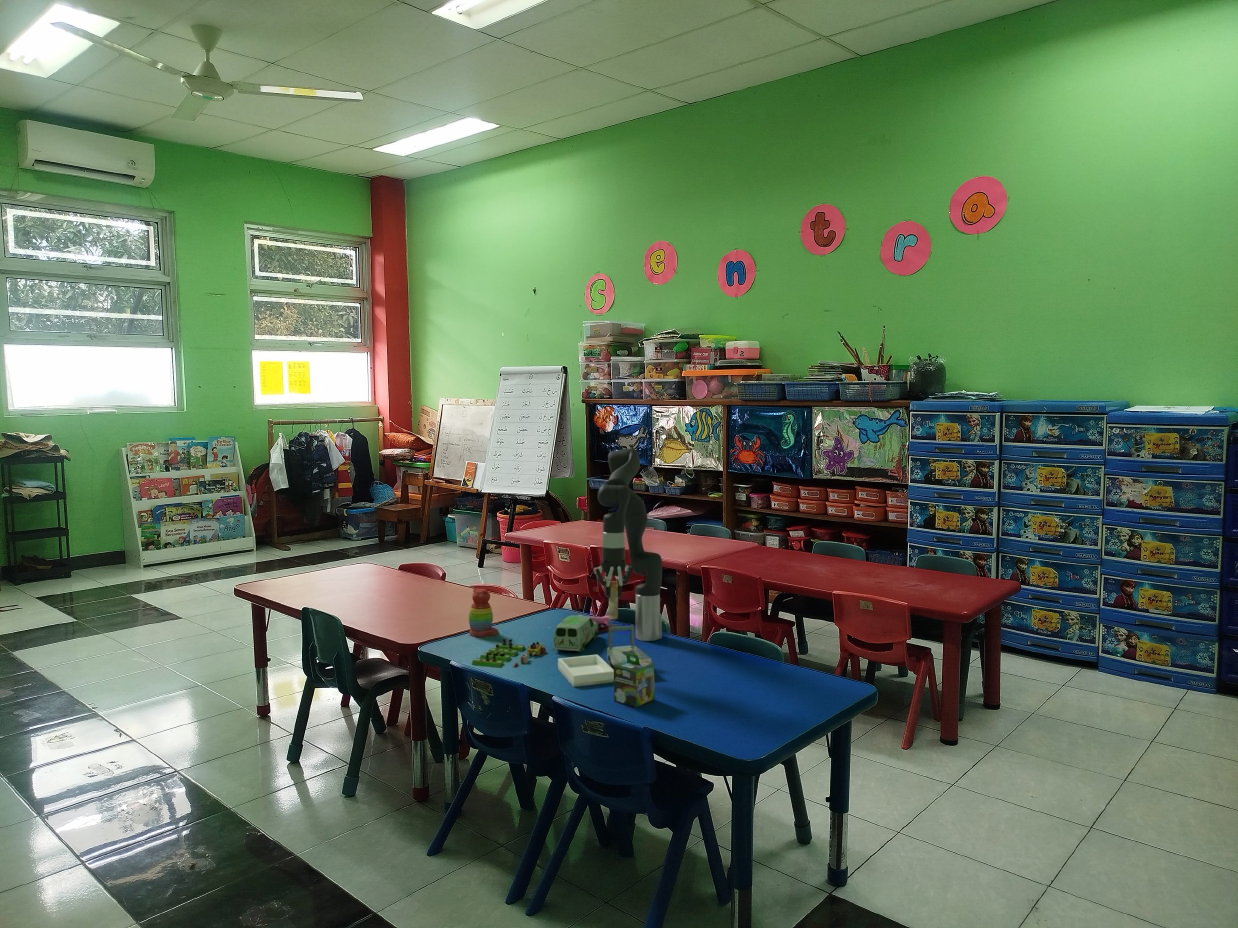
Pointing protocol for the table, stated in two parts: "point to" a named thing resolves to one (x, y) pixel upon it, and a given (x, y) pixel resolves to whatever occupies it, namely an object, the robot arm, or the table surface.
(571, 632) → the toy car
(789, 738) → the table surface
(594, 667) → the parts tray
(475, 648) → the table surface
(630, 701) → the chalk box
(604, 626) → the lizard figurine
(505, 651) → the toy garden set
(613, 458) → the robot arm
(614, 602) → the pin
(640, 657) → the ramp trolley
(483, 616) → the stacking bear
